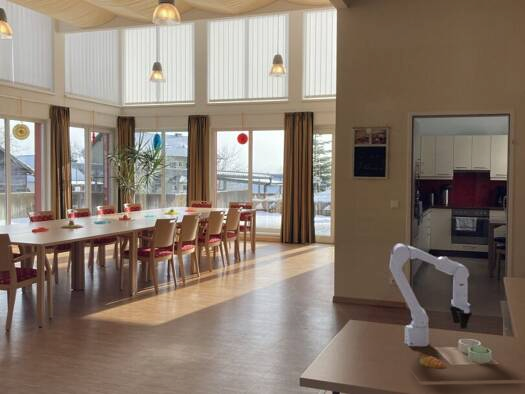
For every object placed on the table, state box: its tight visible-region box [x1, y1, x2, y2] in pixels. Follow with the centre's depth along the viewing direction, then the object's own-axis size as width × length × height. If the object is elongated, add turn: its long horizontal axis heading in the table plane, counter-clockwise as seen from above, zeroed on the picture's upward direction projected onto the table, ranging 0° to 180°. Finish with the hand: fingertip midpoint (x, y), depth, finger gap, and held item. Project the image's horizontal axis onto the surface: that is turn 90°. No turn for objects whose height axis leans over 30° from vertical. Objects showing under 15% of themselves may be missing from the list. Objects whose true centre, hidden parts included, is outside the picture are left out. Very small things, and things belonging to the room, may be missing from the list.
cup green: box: [468, 347, 492, 363], centre depth 204 cm, size 8×8×4 cm
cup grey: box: [458, 338, 482, 354], centre depth 213 cm, size 8×8×4 cm
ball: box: [473, 344, 487, 353], centre depth 204 cm, size 5×5×5 cm
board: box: [433, 346, 499, 366], centre depth 208 cm, size 18×20×1 cm
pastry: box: [419, 354, 446, 370], centre depth 199 cm, size 9×7×4 cm
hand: (459, 325), depth 219 cm, fingers open, 7 cm apart
